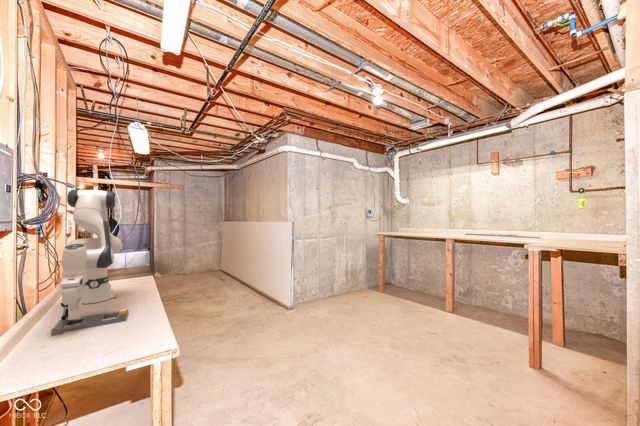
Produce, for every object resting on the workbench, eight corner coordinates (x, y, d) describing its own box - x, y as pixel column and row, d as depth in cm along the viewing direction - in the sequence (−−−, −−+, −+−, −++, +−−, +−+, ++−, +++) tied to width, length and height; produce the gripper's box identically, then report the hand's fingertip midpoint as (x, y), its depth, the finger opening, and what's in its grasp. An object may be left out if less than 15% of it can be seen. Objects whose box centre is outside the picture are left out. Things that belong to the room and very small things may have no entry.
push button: (55, 323, 126) (55, 303, 126) (59, 320, 131) (59, 300, 131) (74, 320, 130) (73, 300, 130) (76, 317, 134) (76, 298, 134)
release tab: (120, 318, 130) (120, 310, 130) (125, 317, 132) (125, 309, 132) (119, 319, 128) (119, 311, 128) (125, 318, 130) (125, 310, 130)
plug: (70, 317, 121) (70, 298, 122) (82, 315, 124) (82, 297, 124) (68, 320, 118) (68, 301, 118) (79, 318, 120) (79, 299, 120)
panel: (60, 326, 123) (60, 320, 123) (128, 315, 136) (128, 309, 136) (51, 337, 112) (51, 330, 112) (125, 323, 126) (125, 317, 126)
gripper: (72, 275, 128) (72, 303, 128) (58, 285, 111) (58, 317, 111) (89, 274, 131) (89, 301, 131) (78, 283, 114) (78, 314, 114)
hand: (75, 308), depth 121 cm, fingers closed on plug, 4 cm apart
